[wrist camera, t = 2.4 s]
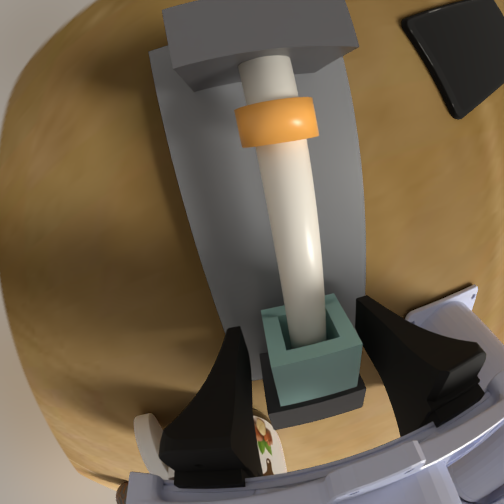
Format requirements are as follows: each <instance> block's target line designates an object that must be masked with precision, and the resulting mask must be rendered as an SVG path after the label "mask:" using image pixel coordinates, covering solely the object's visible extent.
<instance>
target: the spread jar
mask: <svg viewBox="0 0 504 504" xmlns="http://www.w3.org/2000/svg"><path fill="white" fill-rule="evenodd" d="M253 418H254V425H255V431H256V438H257V444H258V450H259V455H260V461H261V466H262V471H263V476H269V475H275V474H281V473H287V469H286V463H285V458H284V453H283V449H282V445H281V442H280V439H279V436H278V434H277V432H276V430H273V427H272V424H271V421H270V420H269V419H268V417H266V416H265V415H264V414H263V413H261V412H259V411H257V410H254V409H253ZM134 432H135V437H136V441H137V445H138V448H139V451H140V454H141V456H142V459H143V461H144V463H145V465H146V467H147V469H148V471H149V472H150V474H154V475H158V476H160V477H161V478H162V479H163V480H174V470H173V469H171V468H170V467H169V466H167V465H166V464H165V463H163V462H162V461H161V460H160V459H159V456H158V455H159V446H160V440H161V436H162V433H163V430H162V428H161V426H160V424H159V422H158V420H157V419H156V417H155V416H154V415H153V414H152V413H148V414H143V415H138V416H136V417H135V419H134Z"/></svg>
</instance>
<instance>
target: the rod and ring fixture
mask: <svg viewBox="0 0 504 504" xmlns="http://www.w3.org/2000/svg"><path fill="white" fill-rule="evenodd" d="M162 13H163V19H164V24H165V30H166V35H167V41H168V46H164V47H161V48H158V49H155V50H152V51H149V57H150V63H151V68H152V73H153V78H154V83H155V88H156V93H157V98H158V102H159V107H160V111H161V116H162V120H163V125H164V129H165V133H166V137H167V141H168V145H169V150H170V154H171V158H172V161H173V165H174V169H175V173H176V177H177V181H178V184H179V188H180V192H181V195H182V199H183V203H184V206H185V210H186V213H187V217H188V220H189V224H190V227H191V230H192V234H193V237H194V240H195V244H196V247H197V250H198V253H199V257H200V260H201V263H202V266H203V269H204V272H205V276H206V279H207V282H208V285H209V288H210V291H211V294H212V297H213V300H214V303H215V306H216V309H217V311H218V314H219V317H220V320H221V323H222V326H223V329H224V331H225V334H226V331H227V329H228V328H231V327H236V326H241V330H242V333H243V336H244V339H245V343H246V346H247V349H248V352H249V358H250V364H251V373H252V381H253V380H259V379H263V383H264V390H265V397H266V404H267V410H268V415H269V418H270V421H271V424H272V427H273V430H277V429H282V428H287V427H292V426H297V425H301V424H305V423H309V422H313V421H317V420H321V419H325V418H328V417H332V416H335V415H339V414H342V413H345V412H349V411H352V410H355V409H358V408H361V407H362V406H363V401H364V397H365V392H366V387H365V384H364V382H363V380H362V378H361V376H360V374H359V377H358V384H357V386H356V387H353V388H350V389H347V390H344V391H341V392H337V393H334V394H330V395H327V396H323V397H319V398H316V399H312V400H308V401H304V402H299V403H295V404H291V405H286V406H281V405H280V401H279V397H278V393H277V389H276V385H275V381H274V377H273V373H272V369H271V365H270V359H269V353H268V348H267V342H266V337H265V331H264V326H263V320H262V315H261V310H265V309H269V308H274V307H278V306H283V305H285V311H286V317H287V323H288V329H289V336H290V342H291V349H296V348H300V347H304V346H308V345H312V344H316V343H320V342H323V341H327V337H326V312H325V295H329V294H333V293H334V294H335V296H336V298H337V299H338V301H339V303H340V305H341V306H342V308H343V310H344V311H345V313H346V315H347V317H348V318H349V320H350V322H351V324H352V325H353V327H354V329H355V316H356V298H359V297H362V296H365V280H366V231H365V207H364V191H363V178H362V168H361V158H360V149H359V141H358V134H357V127H356V121H355V114H354V108H353V103H352V97H351V92H350V87H349V82H348V78H347V73H346V69H345V64H344V60H343V56H344V55H345V54H347V53H349V52H351V51H353V50H354V49H356V48H358V47H359V44H358V40H357V37H356V33H355V30H354V27H353V23H352V20H351V17H350V14H349V11H348V8H347V5H346V2H345V0H198V1H193V2H189V3H185V4H181V5H178V6H174V7H170V8H167V9H164V10H162ZM355 331H356V329H355ZM356 333H357V331H356Z"/></svg>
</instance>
